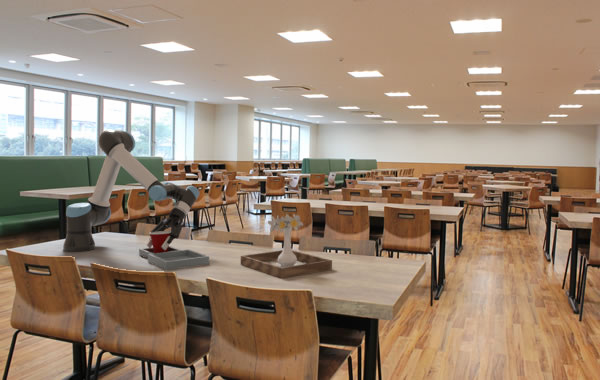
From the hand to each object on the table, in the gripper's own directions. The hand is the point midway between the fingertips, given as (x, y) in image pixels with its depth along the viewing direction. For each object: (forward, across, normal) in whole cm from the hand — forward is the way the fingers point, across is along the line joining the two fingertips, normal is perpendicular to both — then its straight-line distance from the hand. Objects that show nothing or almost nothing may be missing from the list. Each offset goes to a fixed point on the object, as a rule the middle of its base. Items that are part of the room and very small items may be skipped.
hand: (155, 247), depth 238 cm
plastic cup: (+1, 0, -6) cm, 6 cm away
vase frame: (-9, -64, -15) cm, 66 cm away
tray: (+6, -19, -1) cm, 20 cm away
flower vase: (-9, -64, -16) cm, 66 cm away
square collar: (+1, 0, -5) cm, 5 cm away
